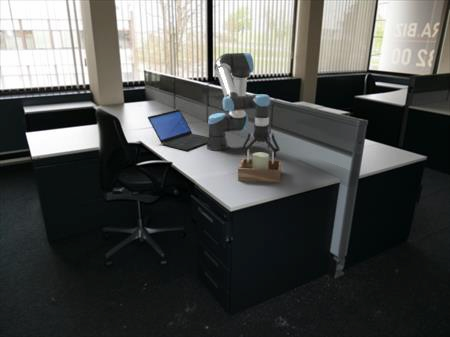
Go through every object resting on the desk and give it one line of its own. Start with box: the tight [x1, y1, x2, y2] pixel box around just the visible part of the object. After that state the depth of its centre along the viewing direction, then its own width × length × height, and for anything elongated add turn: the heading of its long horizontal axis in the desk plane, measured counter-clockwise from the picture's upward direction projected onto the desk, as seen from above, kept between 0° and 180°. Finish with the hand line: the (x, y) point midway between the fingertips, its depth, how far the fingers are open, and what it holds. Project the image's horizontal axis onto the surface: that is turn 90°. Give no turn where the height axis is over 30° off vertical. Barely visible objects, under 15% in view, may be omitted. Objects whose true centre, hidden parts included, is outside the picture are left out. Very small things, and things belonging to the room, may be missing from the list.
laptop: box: [147, 109, 209, 152], centre depth 255 cm, size 33×38×19 cm
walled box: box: [237, 157, 282, 184], centre depth 193 cm, size 16×22×7 cm
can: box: [251, 151, 270, 170], centre depth 192 cm, size 9×9×12 cm
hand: (260, 162), depth 192 cm, fingers open, 13 cm apart
